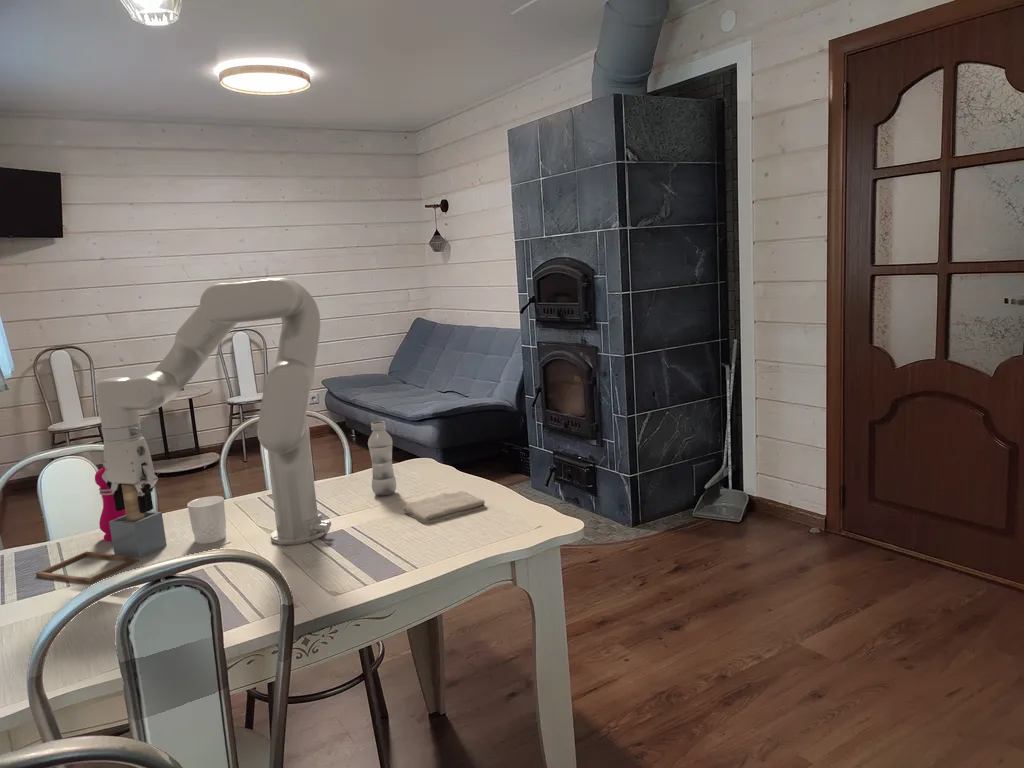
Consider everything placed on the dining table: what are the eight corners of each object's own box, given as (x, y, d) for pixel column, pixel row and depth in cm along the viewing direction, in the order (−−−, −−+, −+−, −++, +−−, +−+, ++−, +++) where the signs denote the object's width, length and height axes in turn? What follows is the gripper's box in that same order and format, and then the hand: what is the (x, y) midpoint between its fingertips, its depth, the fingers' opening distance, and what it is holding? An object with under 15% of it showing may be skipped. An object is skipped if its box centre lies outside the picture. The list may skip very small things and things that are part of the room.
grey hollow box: (167, 549, 170) (161, 512, 169) (140, 562, 163) (133, 523, 162) (142, 546, 173) (137, 510, 172) (115, 559, 166) (108, 521, 165)
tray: (139, 565, 162) (138, 557, 162) (91, 588, 151) (89, 580, 151) (87, 558, 168) (86, 551, 168) (37, 581, 157) (35, 573, 157)
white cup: (185, 547, 171) (179, 506, 170) (210, 534, 178) (204, 495, 177) (212, 549, 168) (206, 507, 167) (236, 537, 176) (231, 496, 174)
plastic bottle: (376, 490, 205) (369, 420, 202) (400, 490, 204) (393, 419, 201) (369, 498, 199) (361, 425, 195) (393, 497, 198) (386, 424, 194)
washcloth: (488, 509, 185) (488, 497, 184) (425, 527, 175) (424, 514, 174) (464, 498, 194) (463, 487, 194) (403, 515, 185) (401, 503, 184)
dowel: (153, 547, 169) (142, 480, 167) (140, 554, 166) (129, 485, 163) (141, 546, 171) (131, 480, 168) (128, 552, 167) (117, 484, 165)
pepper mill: (128, 532, 184) (115, 455, 181) (141, 538, 180) (128, 458, 176) (97, 542, 179) (84, 462, 175) (110, 548, 174) (96, 466, 171)
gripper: (165, 430, 164) (176, 507, 167) (108, 428, 170) (120, 502, 173) (137, 438, 157) (149, 518, 160) (79, 436, 164) (92, 513, 166)
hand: (134, 509), depth 167 cm, fingers open, 6 cm apart
